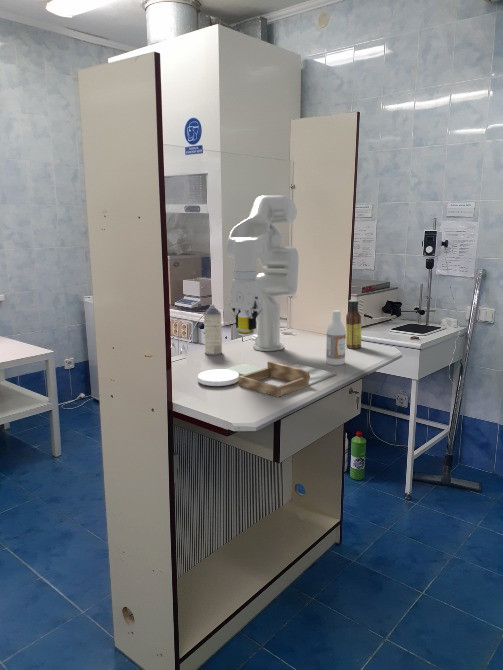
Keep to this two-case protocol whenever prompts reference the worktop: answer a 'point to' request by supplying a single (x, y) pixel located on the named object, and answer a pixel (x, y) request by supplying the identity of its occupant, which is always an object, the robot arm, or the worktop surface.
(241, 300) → the robot arm
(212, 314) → the aerosol can
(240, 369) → the tray
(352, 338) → the sauce bottle
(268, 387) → the frame
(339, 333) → the bath foam
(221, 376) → the plastic lid
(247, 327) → the supplement bottle
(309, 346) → the worktop surface
